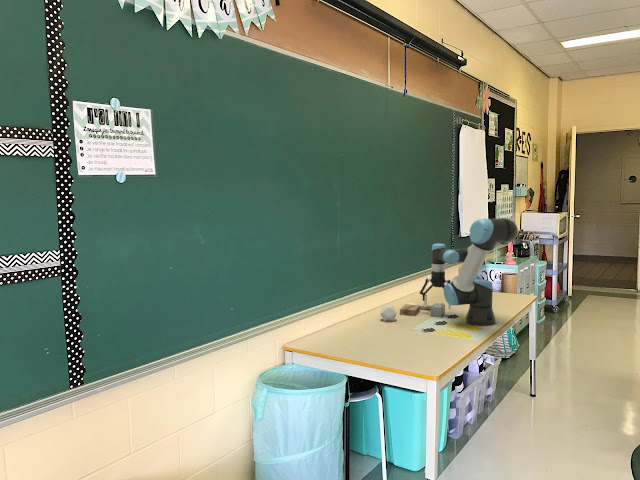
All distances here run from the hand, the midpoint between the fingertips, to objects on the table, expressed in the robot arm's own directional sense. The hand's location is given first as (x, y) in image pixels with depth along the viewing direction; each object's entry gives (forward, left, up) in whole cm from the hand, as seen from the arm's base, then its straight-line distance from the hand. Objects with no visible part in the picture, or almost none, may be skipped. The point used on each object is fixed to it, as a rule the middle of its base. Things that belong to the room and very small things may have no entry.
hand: (437, 307), depth 287 cm
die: (+23, +22, -4) cm, 32 cm away
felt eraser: (+6, -11, -5) cm, 13 cm away
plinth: (+16, 0, -4) cm, 16 cm away
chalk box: (+17, -10, -5) cm, 20 cm away
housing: (0, 0, -4) cm, 4 cm away
